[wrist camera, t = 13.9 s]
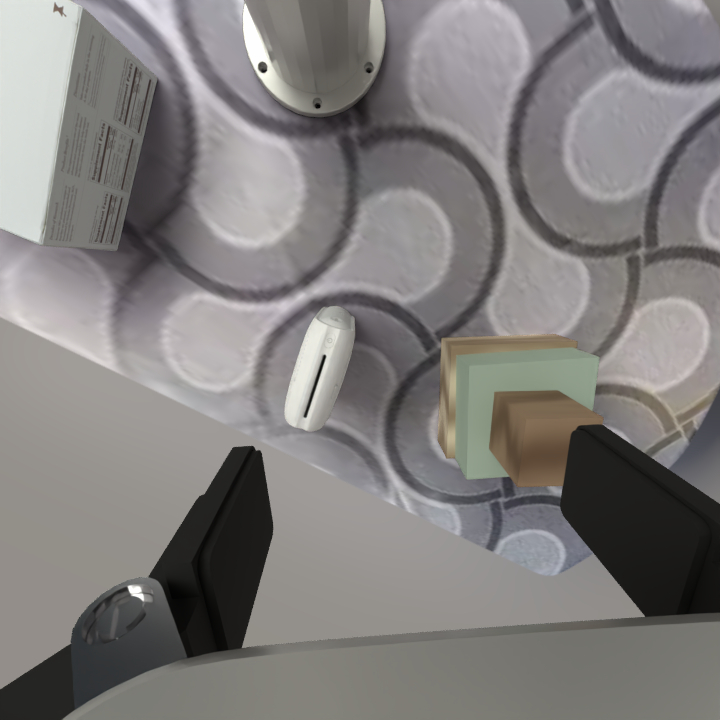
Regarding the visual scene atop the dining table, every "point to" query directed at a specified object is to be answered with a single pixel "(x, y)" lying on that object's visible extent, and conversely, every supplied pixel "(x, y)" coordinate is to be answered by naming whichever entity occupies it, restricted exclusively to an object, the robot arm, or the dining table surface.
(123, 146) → the supplement box
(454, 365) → the maple base block
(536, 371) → the sage top block
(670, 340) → the dining table surface
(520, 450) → the walnut cube
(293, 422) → the photo printer
